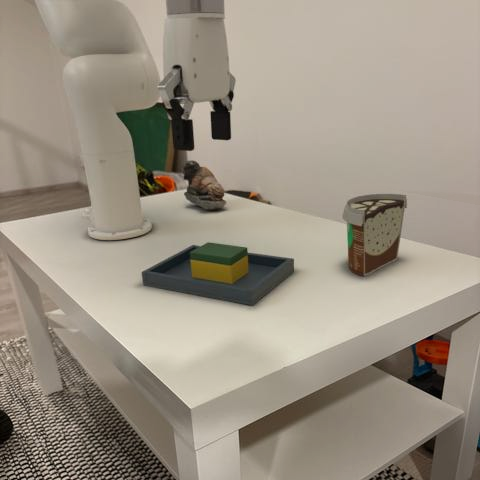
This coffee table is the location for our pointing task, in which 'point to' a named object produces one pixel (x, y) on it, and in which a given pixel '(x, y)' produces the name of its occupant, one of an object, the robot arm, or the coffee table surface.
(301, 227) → the coffee table surface
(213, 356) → the coffee table surface
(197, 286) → the tray
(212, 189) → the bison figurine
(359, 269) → the food container
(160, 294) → the coffee table surface
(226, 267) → the sponge
